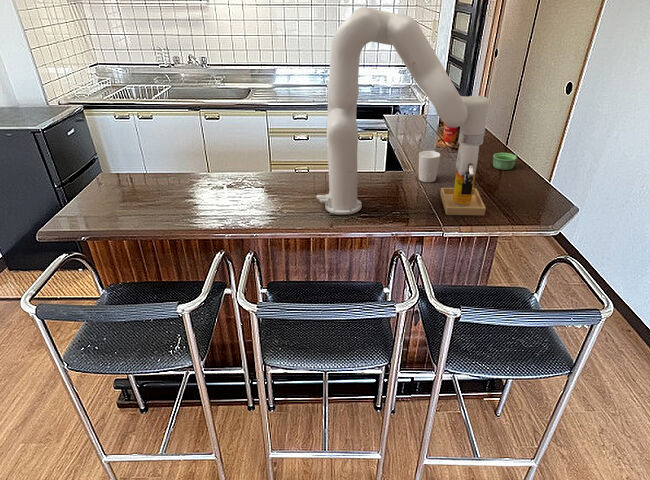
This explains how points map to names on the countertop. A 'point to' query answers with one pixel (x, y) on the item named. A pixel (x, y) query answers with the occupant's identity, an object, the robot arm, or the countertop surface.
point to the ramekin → (504, 161)
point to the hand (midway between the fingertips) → (463, 188)
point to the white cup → (428, 165)
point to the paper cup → (449, 133)
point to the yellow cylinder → (457, 196)
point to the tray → (471, 209)
